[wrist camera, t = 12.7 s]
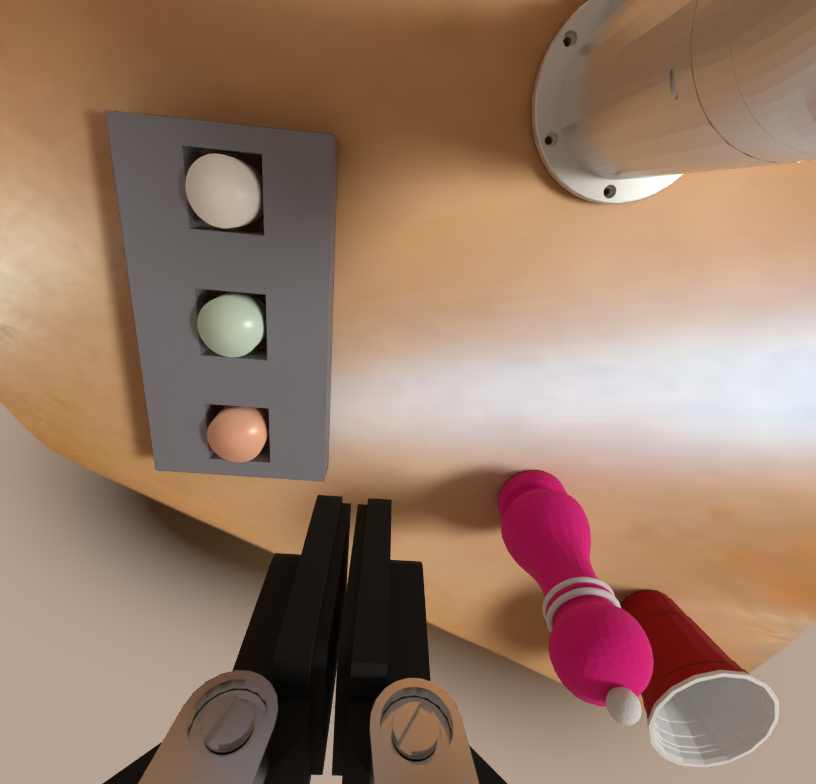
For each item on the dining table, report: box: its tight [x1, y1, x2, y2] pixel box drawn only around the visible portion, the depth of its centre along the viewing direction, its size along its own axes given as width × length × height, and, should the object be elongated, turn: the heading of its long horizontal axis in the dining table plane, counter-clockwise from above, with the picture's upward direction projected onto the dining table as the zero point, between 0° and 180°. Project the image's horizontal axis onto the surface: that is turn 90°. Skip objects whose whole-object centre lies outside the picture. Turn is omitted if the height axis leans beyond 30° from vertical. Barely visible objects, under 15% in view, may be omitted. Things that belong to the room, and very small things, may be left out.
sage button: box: [197, 291, 267, 357], centre depth 34 cm, size 4×4×3 cm
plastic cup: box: [620, 590, 779, 767], centre depth 43 cm, size 11×11×12 cm
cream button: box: [185, 154, 264, 228], centre depth 31 cm, size 4×4×3 cm
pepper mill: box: [498, 471, 654, 725], centre depth 34 cm, size 7×7×20 cm
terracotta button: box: [207, 405, 269, 462], centre depth 37 cm, size 4×4×3 cm
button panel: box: [105, 110, 338, 482], centre depth 34 cm, size 26×14×2 cm, turn 175°
